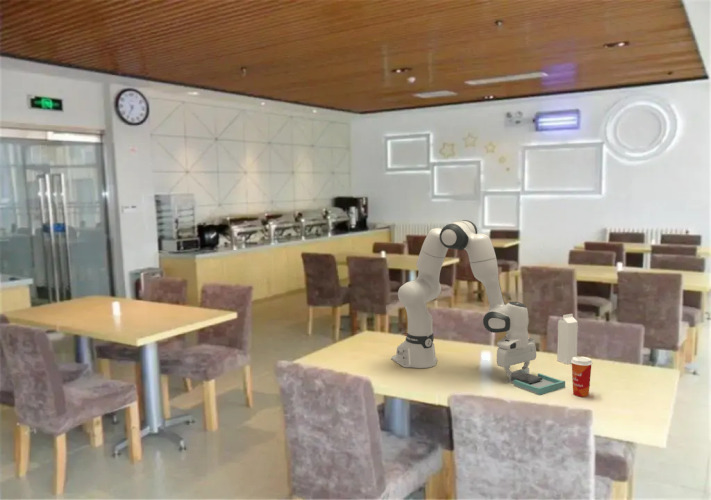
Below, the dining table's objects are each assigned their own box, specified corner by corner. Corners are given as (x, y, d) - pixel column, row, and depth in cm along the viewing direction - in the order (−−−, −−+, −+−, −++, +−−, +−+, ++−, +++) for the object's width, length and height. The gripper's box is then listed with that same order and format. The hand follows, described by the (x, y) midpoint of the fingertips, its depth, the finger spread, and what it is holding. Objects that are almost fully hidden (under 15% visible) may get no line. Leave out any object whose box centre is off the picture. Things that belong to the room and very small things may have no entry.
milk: (557, 361, 267) (557, 313, 264) (566, 359, 269) (567, 312, 267) (567, 364, 261) (568, 316, 259) (577, 362, 264) (577, 314, 262)
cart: (509, 381, 240) (508, 372, 240) (527, 376, 246) (527, 367, 246) (526, 385, 232) (525, 376, 232) (544, 380, 238) (544, 371, 238)
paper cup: (566, 391, 228) (567, 356, 226) (585, 390, 229) (586, 355, 227) (575, 398, 220) (576, 362, 219) (595, 397, 221) (596, 361, 219)
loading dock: (502, 383, 241) (502, 375, 240) (527, 376, 249) (527, 368, 248) (539, 397, 225) (539, 388, 224) (565, 389, 232) (565, 381, 232)
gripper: (528, 335, 250) (528, 366, 252) (494, 343, 240) (493, 375, 241) (540, 338, 245) (539, 370, 247) (505, 346, 234) (505, 379, 236)
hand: (516, 373), depth 244 cm, fingers open, 8 cm apart
